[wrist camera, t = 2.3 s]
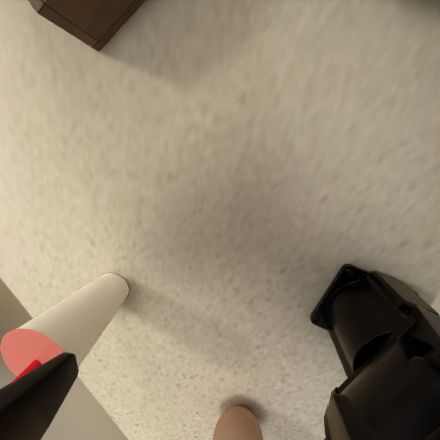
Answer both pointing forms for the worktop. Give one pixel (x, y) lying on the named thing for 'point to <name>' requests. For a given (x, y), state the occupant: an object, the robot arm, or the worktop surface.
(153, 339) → the worktop surface
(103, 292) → the cup
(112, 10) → the chest
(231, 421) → the egg
